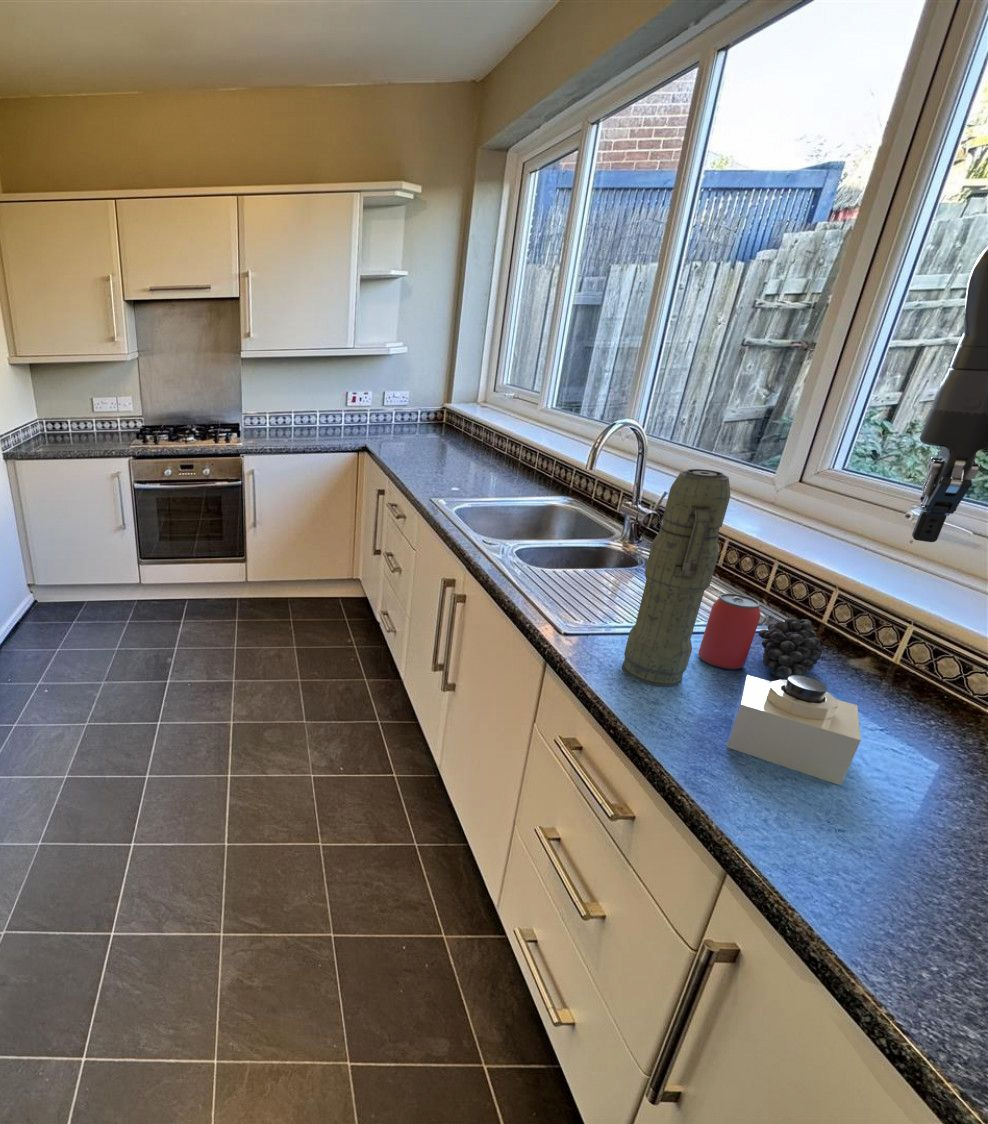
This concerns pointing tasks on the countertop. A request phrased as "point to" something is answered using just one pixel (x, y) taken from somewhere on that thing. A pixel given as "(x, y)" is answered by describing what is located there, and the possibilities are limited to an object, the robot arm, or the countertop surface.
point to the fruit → (790, 647)
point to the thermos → (677, 578)
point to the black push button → (805, 689)
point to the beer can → (730, 631)
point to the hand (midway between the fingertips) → (923, 539)
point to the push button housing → (795, 730)
